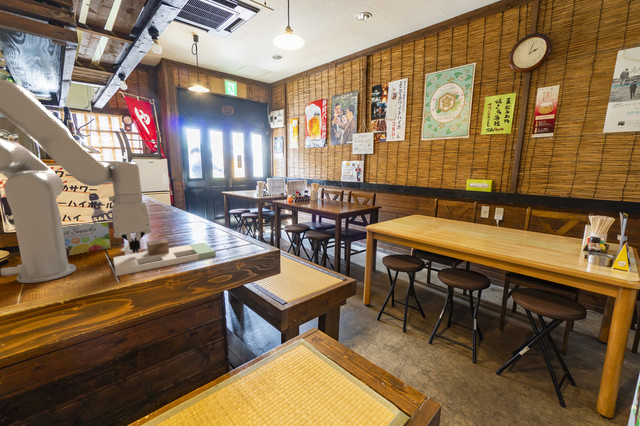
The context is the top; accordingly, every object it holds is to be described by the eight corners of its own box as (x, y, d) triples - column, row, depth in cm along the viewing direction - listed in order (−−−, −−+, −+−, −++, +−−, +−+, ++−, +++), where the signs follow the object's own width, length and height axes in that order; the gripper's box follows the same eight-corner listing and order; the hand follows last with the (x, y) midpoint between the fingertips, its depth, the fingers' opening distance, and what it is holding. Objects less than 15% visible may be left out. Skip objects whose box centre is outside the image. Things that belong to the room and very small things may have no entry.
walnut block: (149, 256, 93) (148, 245, 93) (147, 252, 97) (146, 241, 96) (169, 252, 97) (168, 242, 96) (166, 249, 101) (165, 239, 100)
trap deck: (115, 275, 81) (115, 269, 81) (113, 262, 92) (113, 257, 92) (215, 255, 100) (215, 250, 100) (204, 247, 111) (204, 242, 110)
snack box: (36, 262, 91) (28, 220, 89) (33, 259, 95) (25, 217, 92) (111, 248, 108) (106, 211, 105) (107, 245, 111) (102, 210, 109)
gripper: (100, 202, 82) (108, 259, 85) (156, 198, 91) (162, 249, 94) (100, 199, 87) (107, 253, 91) (153, 196, 97) (158, 244, 100)
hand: (135, 251), depth 92 cm, fingers closed
